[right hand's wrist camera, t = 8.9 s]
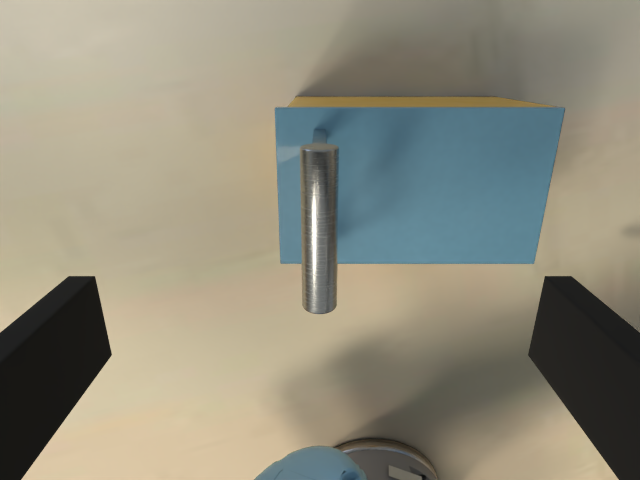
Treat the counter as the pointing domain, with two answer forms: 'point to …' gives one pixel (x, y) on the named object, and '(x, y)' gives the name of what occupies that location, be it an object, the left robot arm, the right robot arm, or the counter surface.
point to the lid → (410, 187)
